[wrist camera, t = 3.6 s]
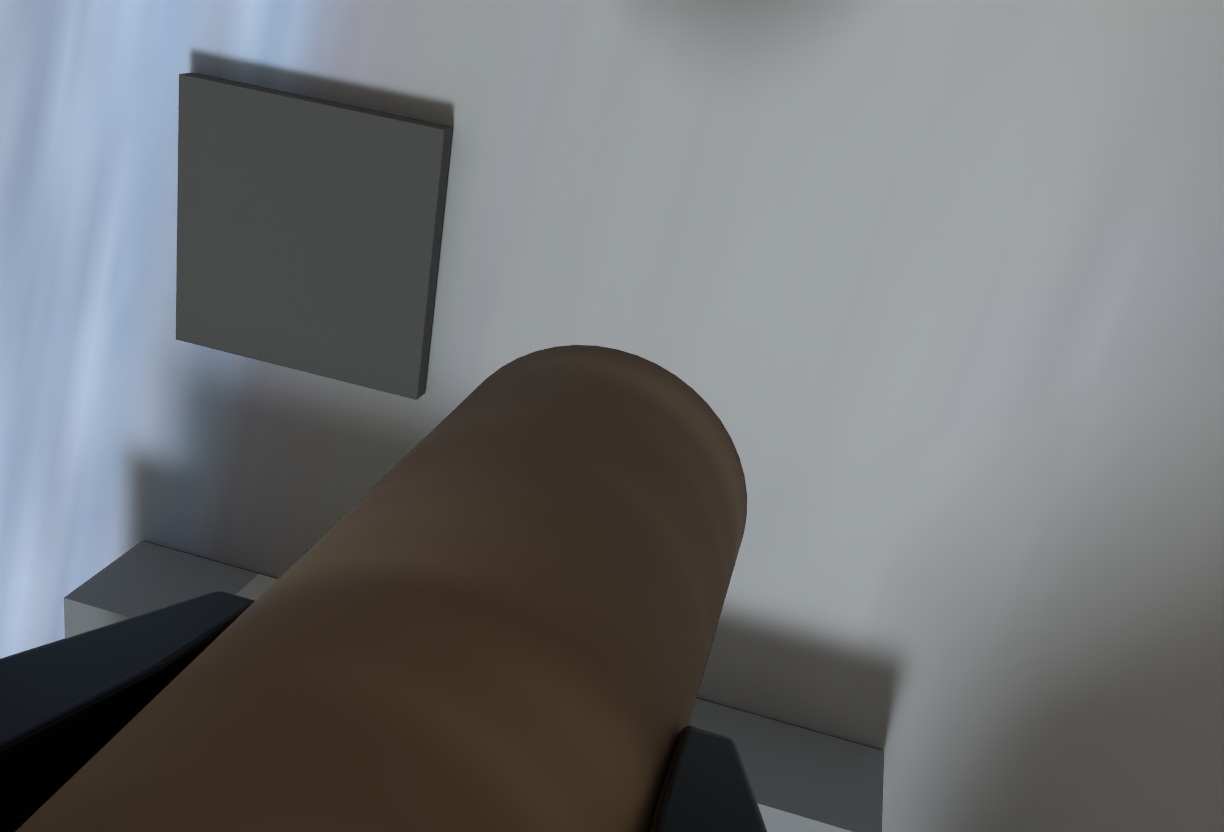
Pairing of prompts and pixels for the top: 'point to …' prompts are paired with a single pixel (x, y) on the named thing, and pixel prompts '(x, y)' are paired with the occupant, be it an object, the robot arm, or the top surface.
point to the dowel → (463, 632)
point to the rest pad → (309, 232)
